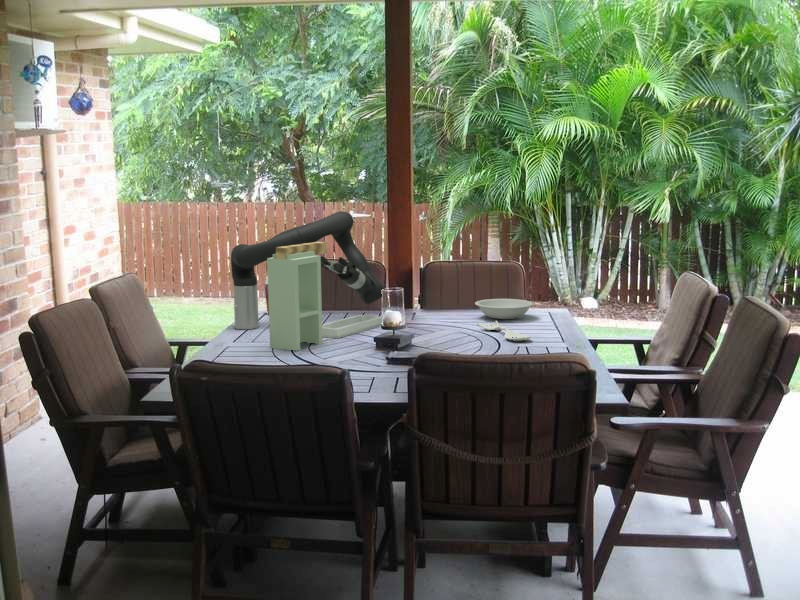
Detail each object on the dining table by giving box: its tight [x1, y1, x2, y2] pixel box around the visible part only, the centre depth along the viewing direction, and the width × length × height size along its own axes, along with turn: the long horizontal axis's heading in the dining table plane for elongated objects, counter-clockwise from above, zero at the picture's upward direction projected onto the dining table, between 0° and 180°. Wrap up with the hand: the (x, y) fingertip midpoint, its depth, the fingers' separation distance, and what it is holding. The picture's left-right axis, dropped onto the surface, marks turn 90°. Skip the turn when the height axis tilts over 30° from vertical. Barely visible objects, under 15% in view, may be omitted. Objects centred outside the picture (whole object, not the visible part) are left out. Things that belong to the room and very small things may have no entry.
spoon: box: [476, 320, 532, 342], centre depth 339 cm, size 9×32×4 cm, turn 20°
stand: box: [266, 251, 323, 352], centre depth 322 cm, size 15×12×34 cm
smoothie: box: [264, 276, 269, 315], centre depth 391 cm, size 8×8×20 cm
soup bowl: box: [474, 298, 534, 320], centre depth 375 cm, size 24×24×7 cm
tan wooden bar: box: [276, 241, 327, 259], centre depth 323 cm, size 24×4×4 cm, turn 148°
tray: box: [322, 314, 383, 340], centre depth 352 cm, size 31×11×4 cm, turn 148°
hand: (330, 258), depth 338 cm, fingers open, 8 cm apart
